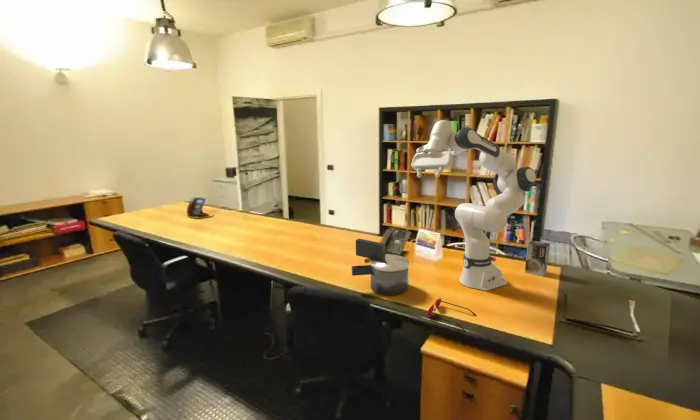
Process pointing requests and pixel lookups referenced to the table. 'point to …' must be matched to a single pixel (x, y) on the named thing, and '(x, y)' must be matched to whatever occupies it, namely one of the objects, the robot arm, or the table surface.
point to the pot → (384, 280)
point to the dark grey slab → (380, 256)
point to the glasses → (437, 308)
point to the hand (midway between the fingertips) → (427, 176)
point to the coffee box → (537, 257)
